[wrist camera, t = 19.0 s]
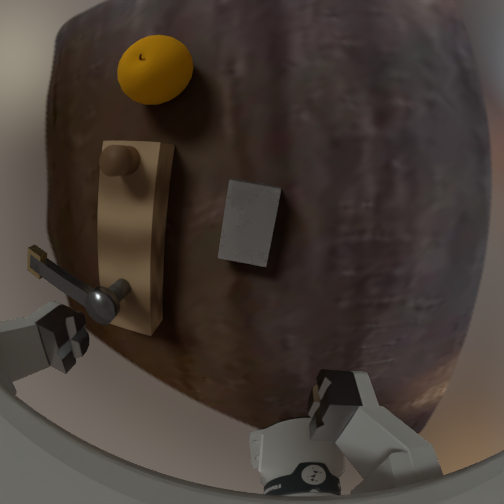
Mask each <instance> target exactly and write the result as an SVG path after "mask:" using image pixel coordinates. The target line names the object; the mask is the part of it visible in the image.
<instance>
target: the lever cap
mask: <svg viewBox="0 0 504 504" xmlns="http://www.w3.org/2000/svg"><path fill="white" fill-rule="evenodd" d="M280 193H281V187H277V186H272V185H267V184H261V183H255V182H250V181H244V180H238V179H231V180H229V186H228V193H227V199H226V205H225V212H224V219H223V225H222V232H221V239H220V246H219V254H218V258H220V259H225V260H231V261H236V262H241V263H246V264H252V265H257V266H262V267H266V265H267V260H268V255H269V250H270V245H271V240H272V235H273V230H274V225H275V220H276V214H277V209H278V204H279V199H280Z"/></svg>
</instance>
